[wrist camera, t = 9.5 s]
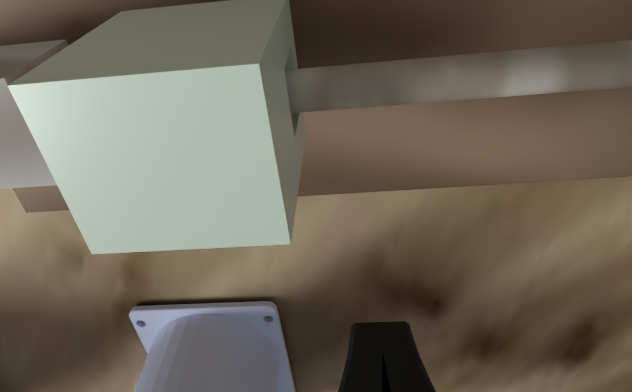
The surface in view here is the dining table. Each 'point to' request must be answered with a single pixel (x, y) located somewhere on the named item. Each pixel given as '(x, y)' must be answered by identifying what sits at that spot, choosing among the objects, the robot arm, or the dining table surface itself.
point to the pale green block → (173, 127)
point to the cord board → (397, 90)
